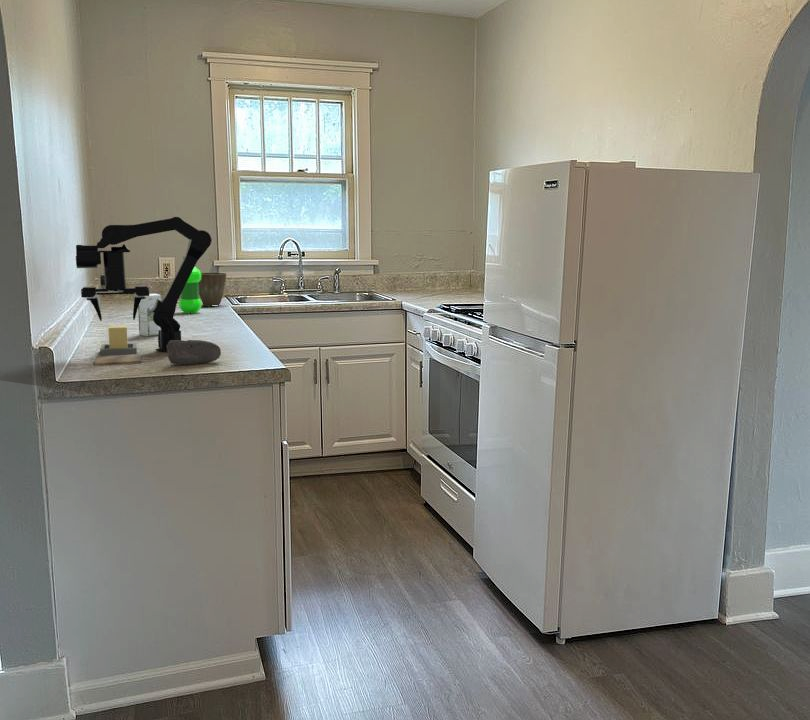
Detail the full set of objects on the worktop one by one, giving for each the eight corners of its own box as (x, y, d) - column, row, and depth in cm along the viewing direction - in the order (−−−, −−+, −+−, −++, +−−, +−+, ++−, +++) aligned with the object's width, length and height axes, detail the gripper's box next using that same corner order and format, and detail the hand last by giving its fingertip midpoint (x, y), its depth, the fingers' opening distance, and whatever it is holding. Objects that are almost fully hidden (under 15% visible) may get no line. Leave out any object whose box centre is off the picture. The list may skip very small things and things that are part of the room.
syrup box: (153, 333, 265) (151, 293, 262) (162, 335, 261) (160, 294, 258) (139, 335, 260) (136, 294, 258) (148, 336, 257) (146, 295, 254)
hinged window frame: (136, 344, 239) (136, 338, 238) (136, 354, 220) (136, 348, 219) (103, 345, 235) (102, 339, 235) (100, 356, 216) (100, 349, 216)
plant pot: (197, 304, 366) (196, 272, 364) (228, 304, 369) (227, 272, 366) (194, 307, 352) (193, 274, 349) (226, 307, 355) (225, 274, 352)
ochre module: (128, 351, 226) (126, 325, 224) (127, 353, 221) (126, 327, 220) (110, 352, 224) (108, 326, 223) (109, 354, 220) (108, 328, 218)
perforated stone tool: (219, 360, 212) (218, 336, 210) (223, 363, 207) (222, 339, 206) (165, 364, 206) (164, 339, 204) (167, 367, 201) (166, 342, 200)
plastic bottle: (198, 311, 338) (196, 256, 333) (205, 313, 329) (203, 257, 325) (176, 312, 332) (173, 256, 328) (182, 314, 324) (180, 257, 319)
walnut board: (140, 356, 217) (140, 354, 217) (140, 363, 206) (140, 360, 206) (96, 358, 213) (96, 356, 213) (94, 365, 202) (94, 363, 202)
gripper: (147, 266, 229) (150, 316, 232) (81, 266, 223) (85, 318, 225) (147, 268, 219) (150, 320, 221) (79, 268, 212) (83, 322, 215)
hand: (117, 320), depth 221 cm, fingers open, 9 cm apart
